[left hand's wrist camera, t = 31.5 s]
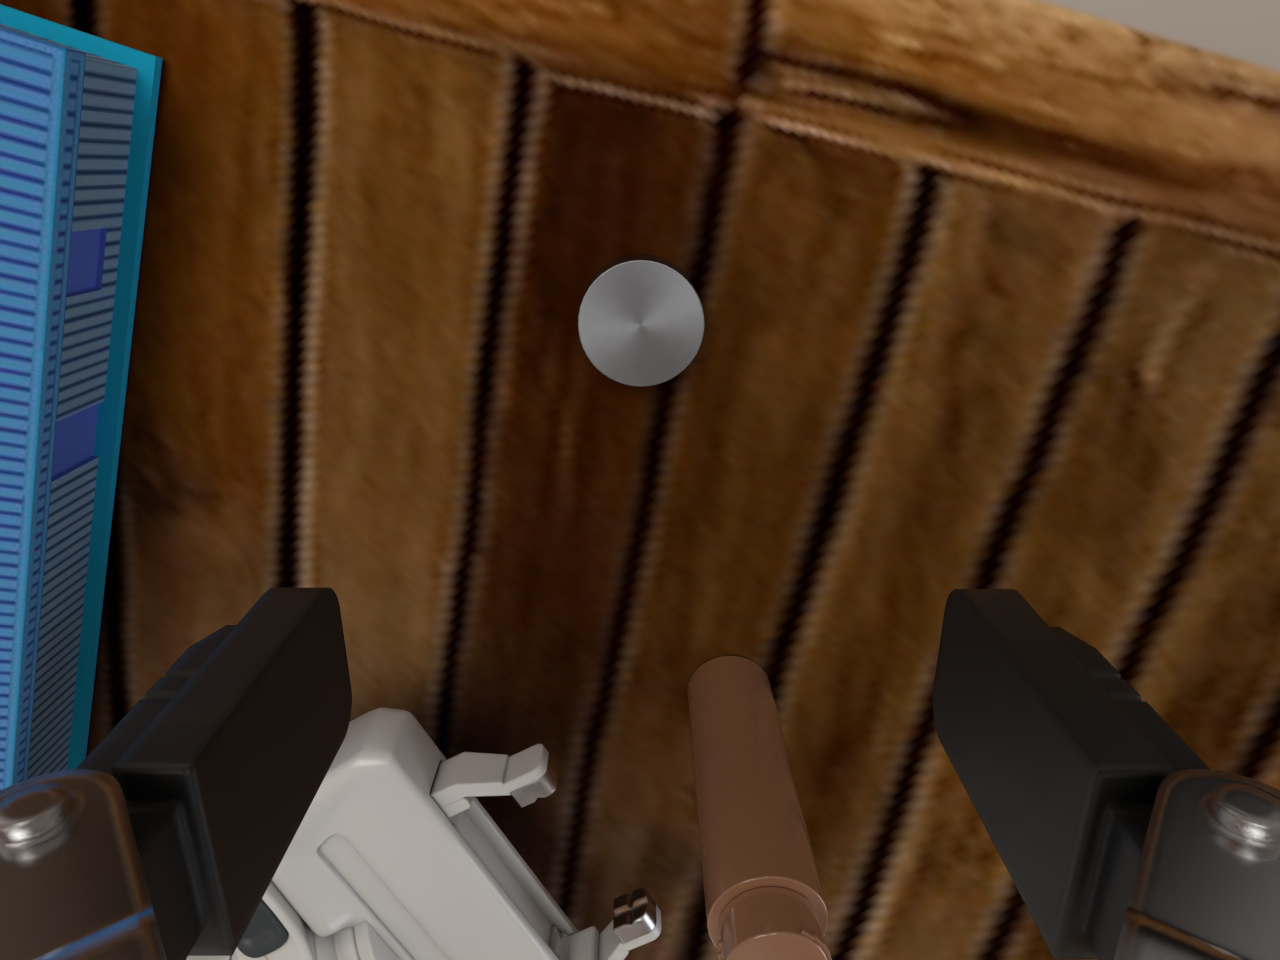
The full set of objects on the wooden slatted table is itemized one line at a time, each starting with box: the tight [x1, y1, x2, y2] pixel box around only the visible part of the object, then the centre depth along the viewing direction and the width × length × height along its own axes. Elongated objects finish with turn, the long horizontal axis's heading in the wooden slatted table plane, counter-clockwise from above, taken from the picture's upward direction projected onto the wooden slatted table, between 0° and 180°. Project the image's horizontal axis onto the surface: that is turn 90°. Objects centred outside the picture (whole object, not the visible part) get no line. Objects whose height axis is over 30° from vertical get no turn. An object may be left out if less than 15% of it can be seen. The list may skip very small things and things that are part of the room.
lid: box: [578, 255, 704, 387], centre depth 35 cm, size 5×5×2 cm
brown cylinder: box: [687, 656, 831, 960], centre depth 35 cm, size 4×4×16 cm
